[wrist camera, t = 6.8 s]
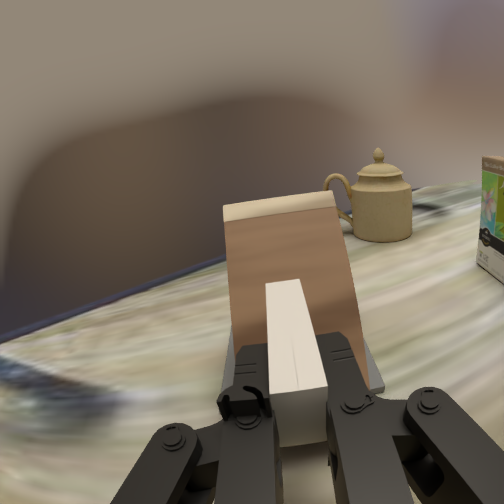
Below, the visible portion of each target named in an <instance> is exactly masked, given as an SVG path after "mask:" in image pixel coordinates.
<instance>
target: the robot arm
mask: <svg viewBox="0 0 504 504" xmlns="http://www.w3.org/2000/svg"><path fill="white" fill-rule="evenodd" d="M266 308H267V334H268V343H262V344H253V345H244V346H242V347H241V349H240V350H239V351H238V353H237V354H236V360H235V370H234V379H233V385H232V386H230V387H228V388H226V389H225V390H224V391H223V392H222V393H221V394H220V395H219V397H218V399H217V405H218V407H219V410H220V413H221V415H222V418H223V419H222V420H221V421H219V422H218V423H216V424H213V425H211V426H208V427H204V428H200V429H197V430H193V429H192V428H191V427H190V426H188V425H186V424H183V423H172V424H168V425H165V426H163V427H162V428H160V429H158V430H157V432H156V433H155V434H154V435H153V436H152V438H151V440H150V441H149V443H148V444H147V446H146V448H145V449H144V451H143V452H142V454H141V456H140V457H139V459H138V460H137V462H136V464H135V465H134V467H133V468H132V470H131V471H130V473H129V475H128V476H127V478H126V479H125V481H124V483H123V484H122V486H121V487H120V489H119V490H118V492H117V494H116V495H115V497H114V498H113V500H112V501H111V503H110V504H212V503H213V501H214V498H215V502H214V504H284V500H283V479H282V461H281V456H280V447H288V446H297V445H304V444H311V443H318V442H324V441H327V439H328V444H329V457H328V466H330V467H331V473H332V479H333V485H334V491H335V497H336V504H414V501H413V498H412V495H411V492H410V489H409V486H410V487H411V489H412V490H413V492H414V493H415V494H416V496H417V497H418V499H419V500H420V502H421V503H422V504H504V451H503V450H502V449H501V448H500V447H499V446H498V445H497V444H496V443H495V442H494V441H493V440H492V439H491V438H490V437H489V436H488V435H487V433H486V432H485V431H484V430H483V429H482V428H481V427H480V426H479V425H478V424H477V423H476V422H475V421H474V420H473V419H472V418H471V417H470V416H469V415H468V414H467V413H466V412H465V411H464V410H463V409H462V408H461V407H460V406H459V405H458V404H457V403H456V402H455V401H454V400H453V399H452V398H451V397H450V396H449V395H448V394H447V393H445V392H444V391H442V390H441V389H438V388H435V387H423V388H420V389H417V390H416V391H414V392H413V393H412V394H411V395H410V396H409V398H408V400H389V399H383V398H380V397H377V396H376V395H375V394H374V393H373V392H371V391H369V389H368V388H367V386H366V384H365V381H364V378H363V376H362V373H361V371H360V368H359V366H358V363H357V361H356V358H355V355H354V353H353V350H352V349H351V346H350V343H349V341H348V338H346V337H345V336H344V335H343V334H342V333H340V332H339V331H337V332H332V333H326V334H320V335H315V334H314V330H313V326H312V323H311V319H310V315H309V312H308V308H307V304H306V301H305V297H304V294H303V290H302V287H301V283H300V279H294V280H287V281H280V282H273V283H266ZM408 484H409V485H408Z"/></svg>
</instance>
